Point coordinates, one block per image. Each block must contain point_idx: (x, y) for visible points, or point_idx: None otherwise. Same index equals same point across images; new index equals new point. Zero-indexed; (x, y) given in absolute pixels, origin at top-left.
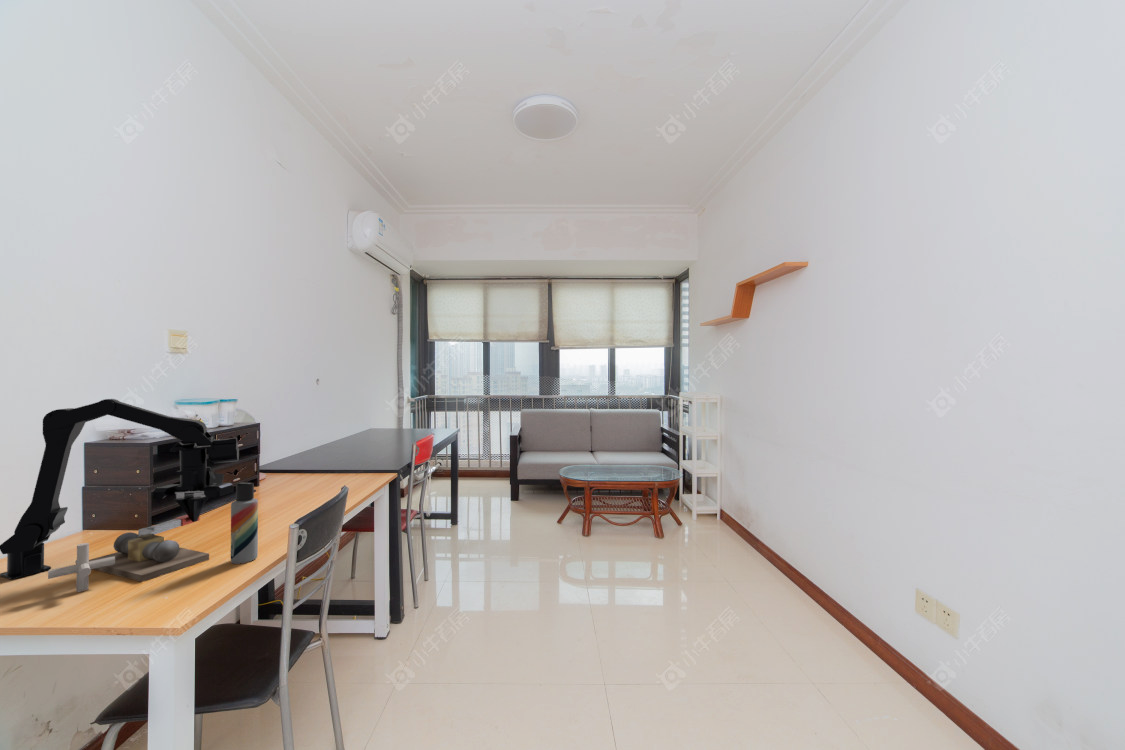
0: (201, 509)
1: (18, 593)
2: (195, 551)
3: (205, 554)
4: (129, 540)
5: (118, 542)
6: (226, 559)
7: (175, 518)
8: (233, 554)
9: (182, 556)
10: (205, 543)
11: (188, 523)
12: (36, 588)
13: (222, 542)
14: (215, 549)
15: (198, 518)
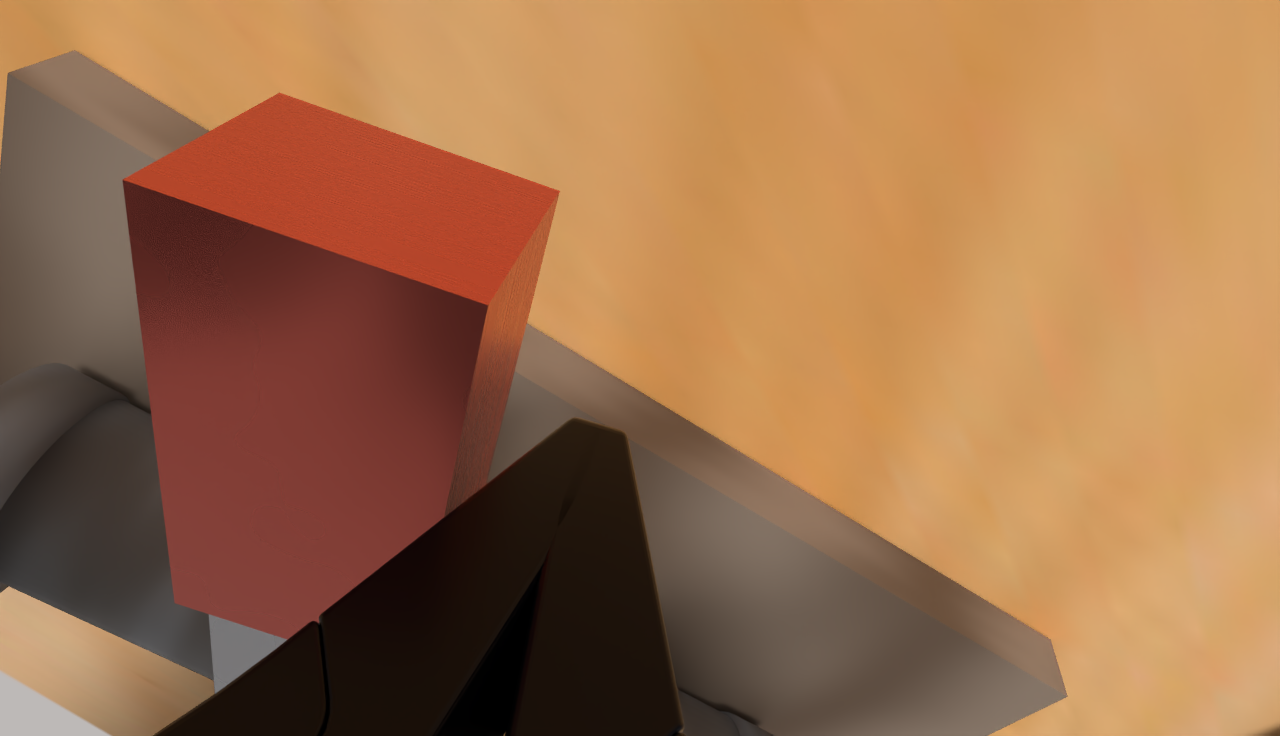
0: (677, 708)
1: (131, 732)
2: (884, 602)
3: (1035, 708)
4: (112, 633)
5: (1, 583)
6: (1234, 686)
7: (209, 612)
8: None
9: (811, 682)
10: (765, 28)
11: (490, 456)
12: (148, 708)
13: (1062, 46)
14: (1033, 370)
15: (534, 251)
